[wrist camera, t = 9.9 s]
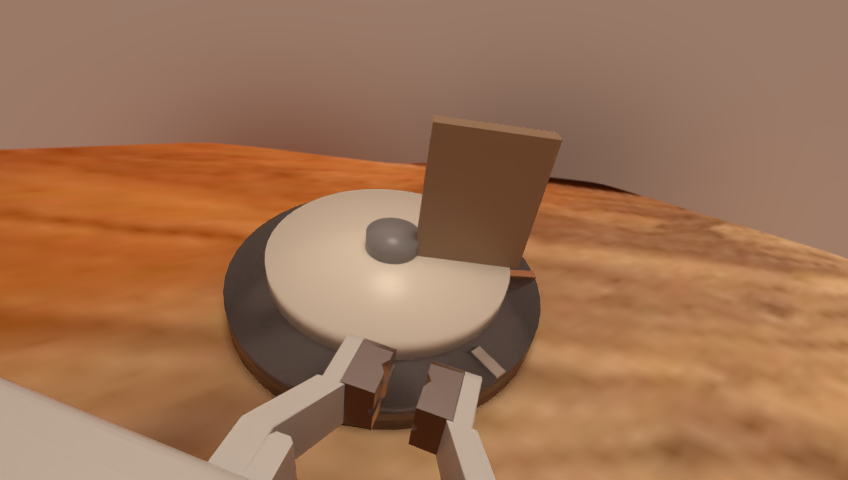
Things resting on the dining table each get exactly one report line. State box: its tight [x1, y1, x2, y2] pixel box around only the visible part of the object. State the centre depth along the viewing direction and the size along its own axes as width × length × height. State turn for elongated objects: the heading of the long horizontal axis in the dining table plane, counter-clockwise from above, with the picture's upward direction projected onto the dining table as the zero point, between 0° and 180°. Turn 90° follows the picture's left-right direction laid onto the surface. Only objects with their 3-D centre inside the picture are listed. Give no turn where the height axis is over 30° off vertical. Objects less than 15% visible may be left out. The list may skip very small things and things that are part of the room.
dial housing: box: [223, 202, 540, 429], centre depth 28 cm, size 21×21×2 cm
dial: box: [265, 115, 562, 360], centre depth 24 cm, size 16×16×10 cm
